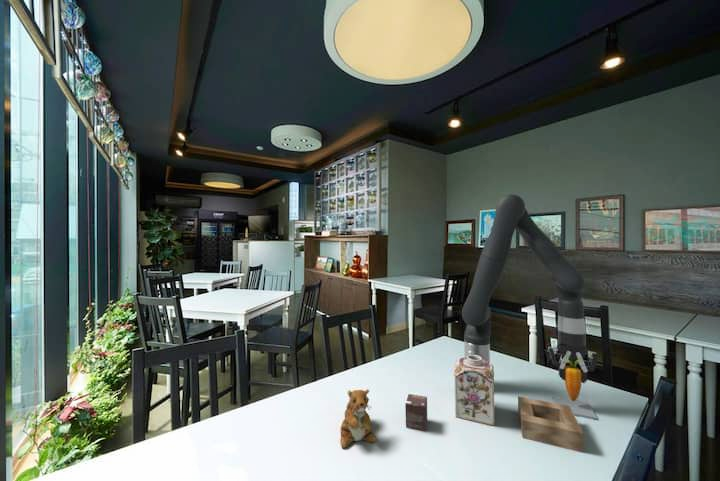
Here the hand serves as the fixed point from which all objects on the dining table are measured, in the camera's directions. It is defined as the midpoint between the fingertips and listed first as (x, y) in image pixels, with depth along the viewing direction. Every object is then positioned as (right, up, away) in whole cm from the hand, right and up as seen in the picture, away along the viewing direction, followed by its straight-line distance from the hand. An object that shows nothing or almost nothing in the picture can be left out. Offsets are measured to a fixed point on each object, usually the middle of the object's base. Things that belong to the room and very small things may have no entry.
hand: (572, 380), depth 95 cm
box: (-54, -10, -8) cm, 56 cm away
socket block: (-16, -9, -11) cm, 22 cm away
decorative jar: (-34, -10, -2) cm, 35 cm away
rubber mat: (0, -9, 0) cm, 9 cm away
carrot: (0, -7, 0) cm, 7 cm away
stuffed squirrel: (-73, -10, -12) cm, 75 cm away
